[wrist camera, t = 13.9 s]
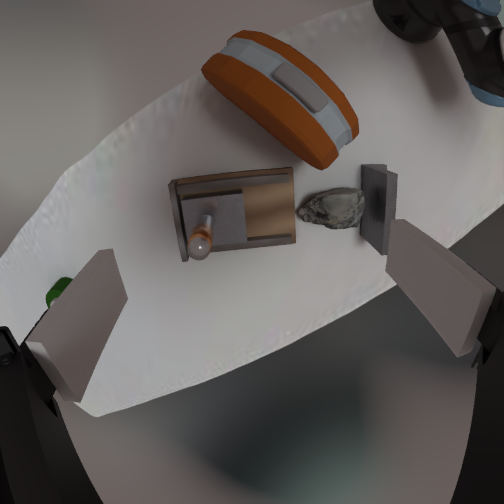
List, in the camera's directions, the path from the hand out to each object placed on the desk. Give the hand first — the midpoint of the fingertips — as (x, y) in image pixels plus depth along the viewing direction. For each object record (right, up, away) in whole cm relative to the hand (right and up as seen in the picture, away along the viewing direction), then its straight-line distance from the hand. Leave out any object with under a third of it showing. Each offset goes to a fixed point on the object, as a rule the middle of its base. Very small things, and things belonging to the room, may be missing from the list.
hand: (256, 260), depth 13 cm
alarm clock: (+4, +26, +31) cm, 41 cm away
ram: (-6, +7, +37) cm, 39 cm away
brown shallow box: (-3, +8, +39) cm, 40 cm away
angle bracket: (+23, +10, +39) cm, 47 cm away
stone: (+14, +10, +40) cm, 43 cm away
